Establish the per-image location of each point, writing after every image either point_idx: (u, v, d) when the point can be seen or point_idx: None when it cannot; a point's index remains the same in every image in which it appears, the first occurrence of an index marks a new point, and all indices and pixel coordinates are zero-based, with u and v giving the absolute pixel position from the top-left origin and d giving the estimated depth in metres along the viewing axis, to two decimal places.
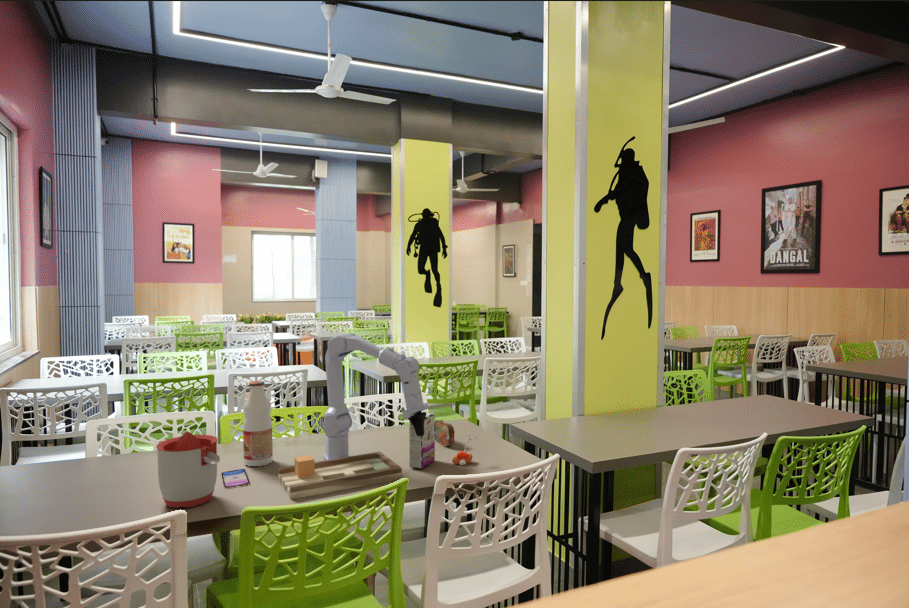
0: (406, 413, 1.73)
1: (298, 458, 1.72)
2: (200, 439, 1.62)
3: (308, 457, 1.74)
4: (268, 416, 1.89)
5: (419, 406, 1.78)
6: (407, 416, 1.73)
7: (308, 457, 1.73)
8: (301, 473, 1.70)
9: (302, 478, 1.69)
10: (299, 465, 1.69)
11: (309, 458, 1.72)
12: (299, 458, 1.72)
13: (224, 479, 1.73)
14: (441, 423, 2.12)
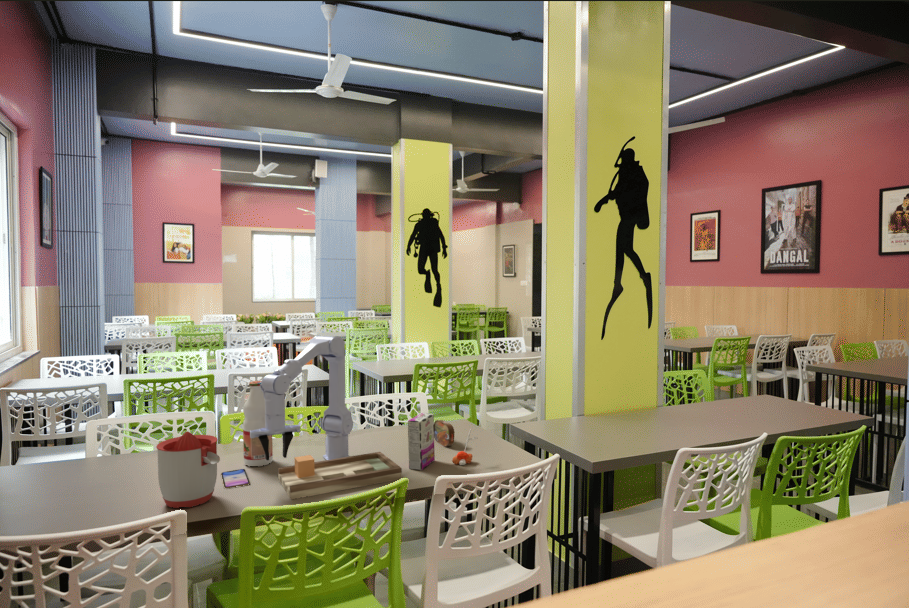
0: (250, 433, 1.64)
1: (298, 458, 1.72)
2: (200, 439, 1.62)
3: (308, 457, 1.74)
4: None
5: (271, 429, 1.65)
6: (250, 436, 1.64)
7: (308, 457, 1.73)
8: (301, 473, 1.70)
9: (302, 478, 1.69)
10: (299, 465, 1.69)
11: (309, 458, 1.72)
12: (299, 458, 1.72)
13: (224, 479, 1.73)
14: (441, 423, 2.12)
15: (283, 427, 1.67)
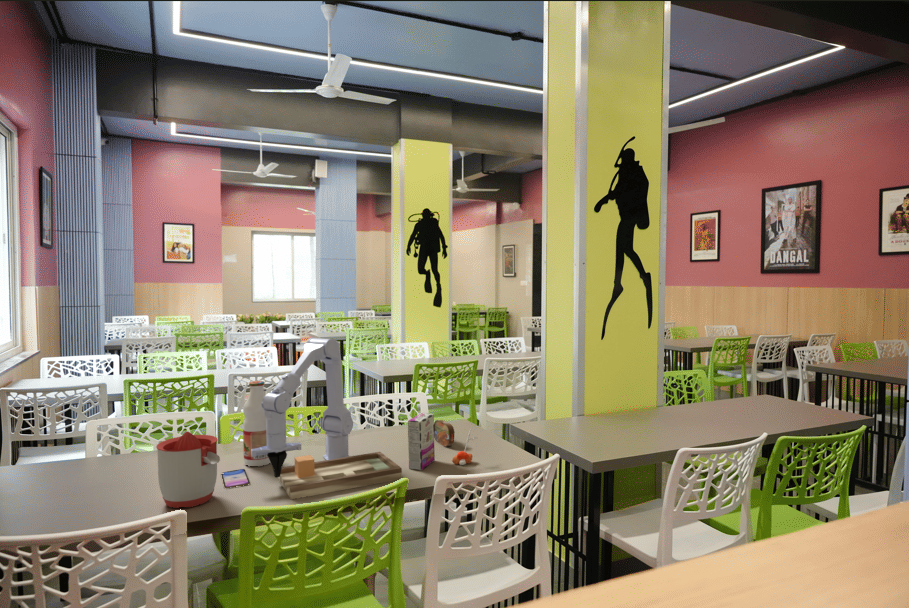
0: (251, 451, 1.65)
1: (298, 458, 1.72)
2: (200, 439, 1.62)
3: (308, 457, 1.74)
4: None
5: (272, 447, 1.65)
6: (251, 454, 1.64)
7: (308, 457, 1.73)
8: (301, 473, 1.70)
9: (302, 478, 1.69)
10: (299, 465, 1.69)
11: (309, 458, 1.72)
12: (299, 458, 1.72)
13: (224, 479, 1.73)
14: (441, 423, 2.12)
15: (284, 445, 1.67)
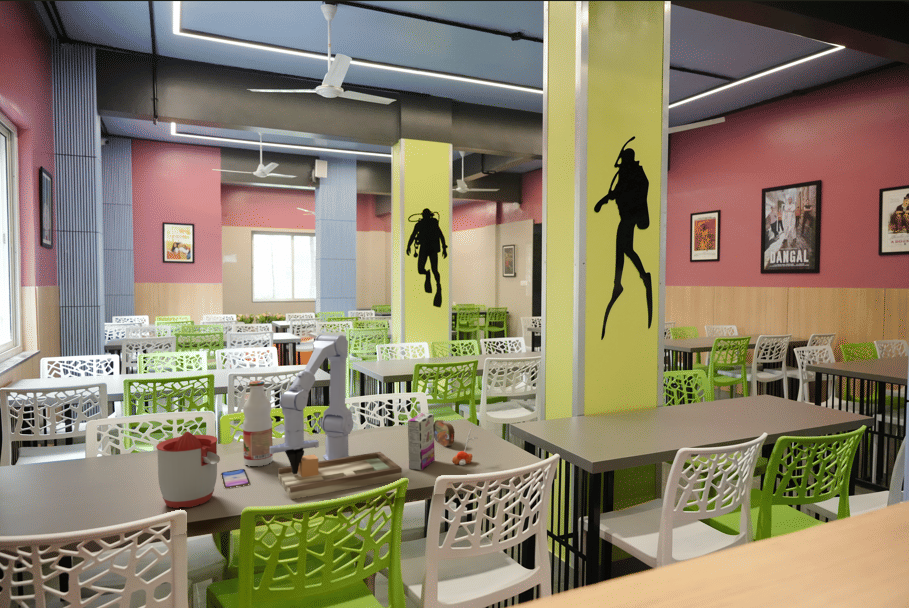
0: (270, 448, 1.67)
1: (302, 457, 1.73)
2: (200, 439, 1.62)
3: (313, 456, 1.74)
4: (268, 416, 1.89)
5: (290, 445, 1.68)
6: (270, 452, 1.67)
7: (312, 456, 1.74)
8: (305, 472, 1.70)
9: (302, 478, 1.69)
10: (303, 464, 1.70)
11: (313, 457, 1.73)
12: (303, 458, 1.72)
13: (224, 479, 1.73)
14: (441, 423, 2.12)
15: (302, 443, 1.70)
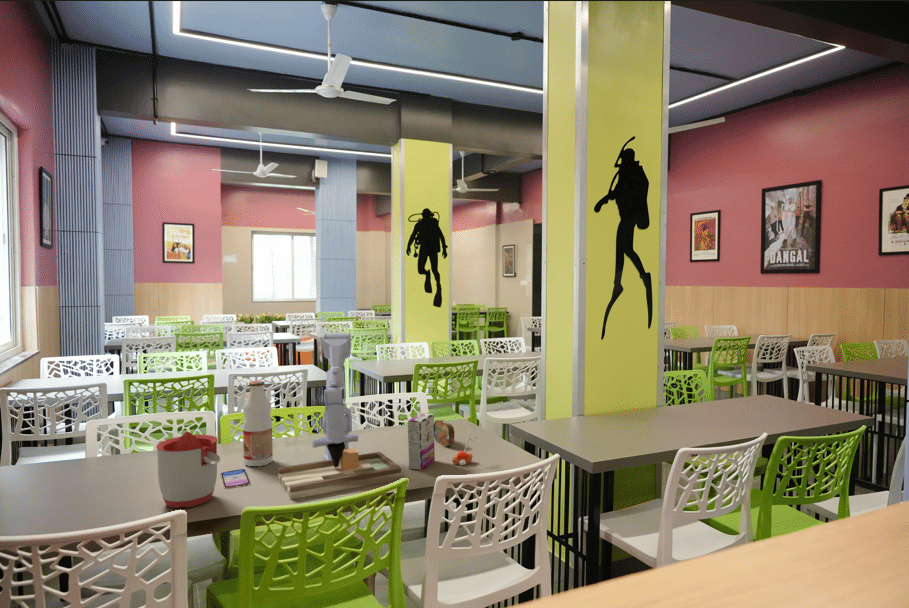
0: (313, 442, 1.73)
1: None
2: (200, 439, 1.62)
3: (352, 450, 1.80)
4: (268, 416, 1.89)
5: (332, 439, 1.74)
6: (313, 445, 1.73)
7: (352, 450, 1.80)
8: (345, 466, 1.76)
9: (302, 478, 1.69)
10: (344, 458, 1.76)
11: (353, 451, 1.79)
12: (343, 452, 1.78)
13: (224, 479, 1.73)
14: (441, 423, 2.12)
15: (343, 437, 1.76)
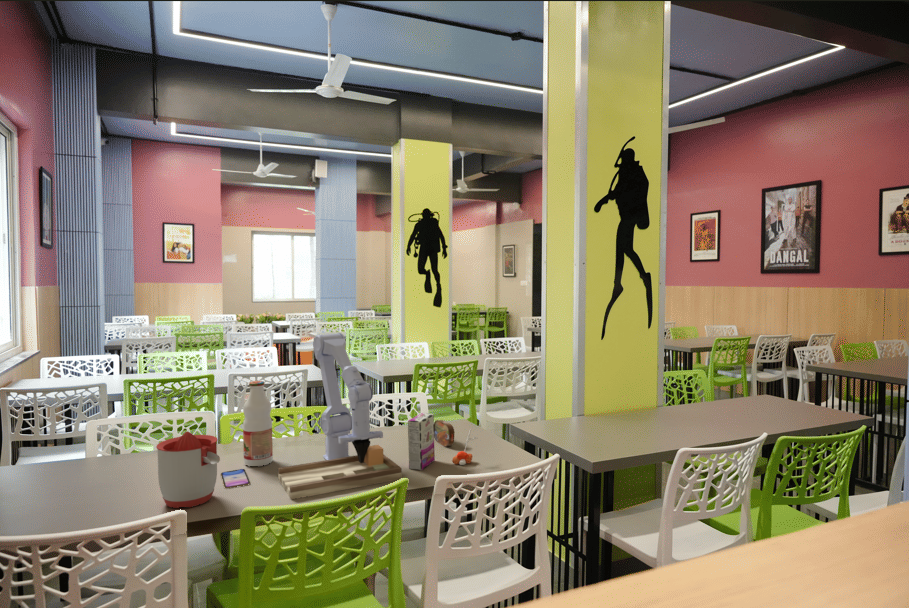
0: (339, 438, 1.77)
1: (368, 447, 1.83)
2: (200, 439, 1.62)
3: (377, 446, 1.84)
4: (268, 416, 1.89)
5: (358, 435, 1.78)
6: (339, 442, 1.77)
7: (377, 446, 1.84)
8: (371, 461, 1.80)
9: (302, 478, 1.69)
10: (370, 454, 1.80)
11: (378, 447, 1.83)
12: (368, 448, 1.82)
13: (224, 479, 1.73)
14: (441, 423, 2.12)
15: (368, 433, 1.80)
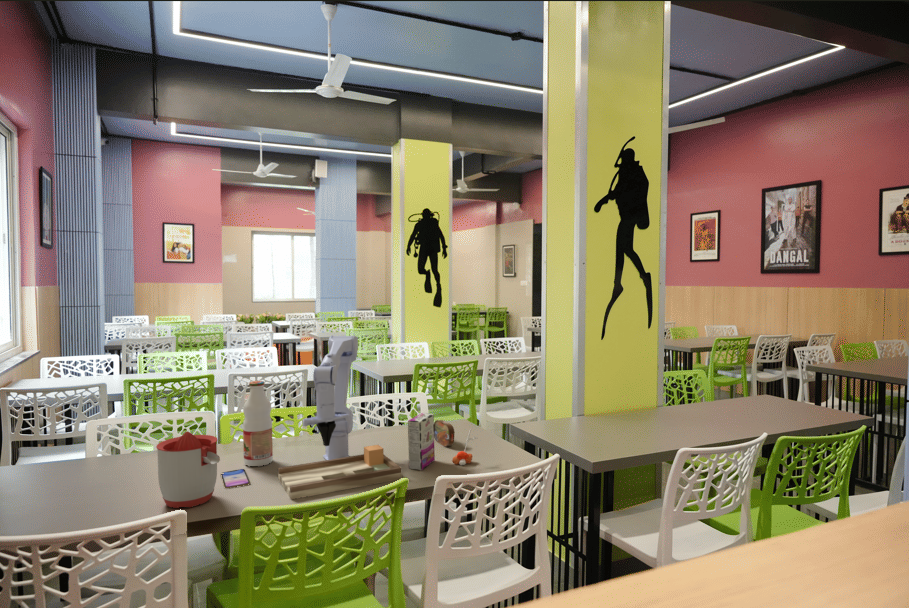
0: (303, 421, 1.74)
1: (368, 447, 1.83)
2: (200, 439, 1.62)
3: (377, 446, 1.84)
4: (268, 416, 1.89)
5: (323, 417, 1.75)
6: (303, 424, 1.74)
7: (377, 446, 1.84)
8: (371, 461, 1.80)
9: (302, 478, 1.69)
10: (370, 454, 1.80)
11: (378, 447, 1.83)
12: (368, 448, 1.82)
13: (224, 479, 1.73)
14: (441, 423, 2.12)
15: (333, 416, 1.77)
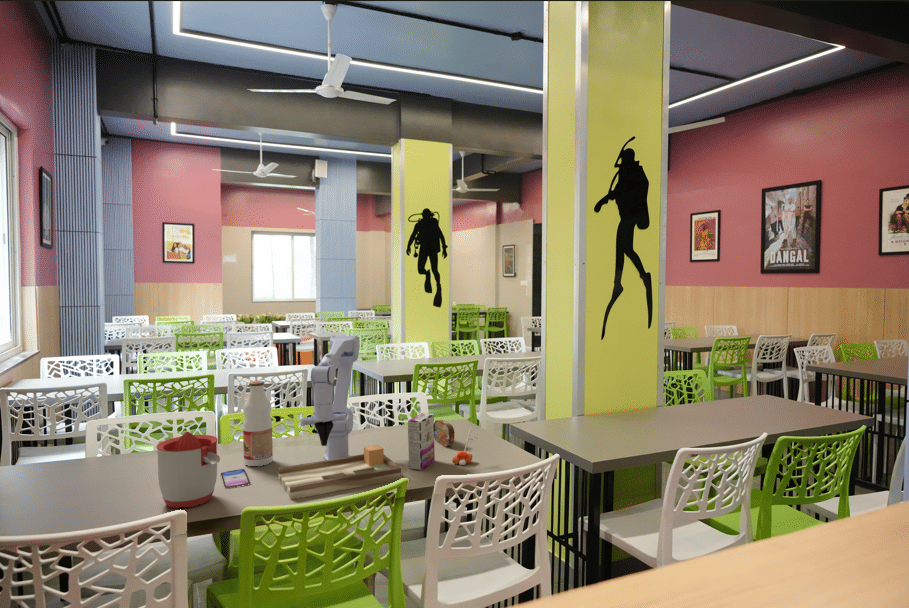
0: (301, 421, 1.74)
1: (368, 447, 1.83)
2: (200, 439, 1.62)
3: (377, 446, 1.84)
4: (268, 416, 1.89)
5: (320, 417, 1.75)
6: (301, 424, 1.74)
7: (377, 446, 1.84)
8: (371, 461, 1.80)
9: (302, 478, 1.69)
10: (370, 454, 1.80)
11: (378, 447, 1.83)
12: (368, 448, 1.82)
13: (224, 479, 1.73)
14: (441, 423, 2.12)
15: (331, 415, 1.77)
